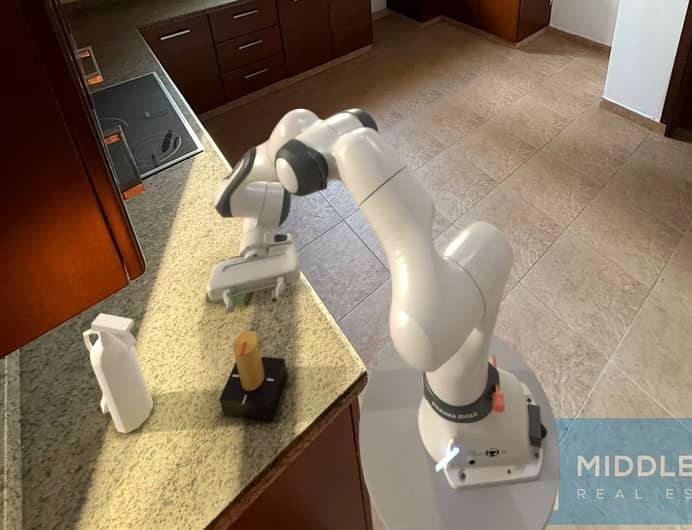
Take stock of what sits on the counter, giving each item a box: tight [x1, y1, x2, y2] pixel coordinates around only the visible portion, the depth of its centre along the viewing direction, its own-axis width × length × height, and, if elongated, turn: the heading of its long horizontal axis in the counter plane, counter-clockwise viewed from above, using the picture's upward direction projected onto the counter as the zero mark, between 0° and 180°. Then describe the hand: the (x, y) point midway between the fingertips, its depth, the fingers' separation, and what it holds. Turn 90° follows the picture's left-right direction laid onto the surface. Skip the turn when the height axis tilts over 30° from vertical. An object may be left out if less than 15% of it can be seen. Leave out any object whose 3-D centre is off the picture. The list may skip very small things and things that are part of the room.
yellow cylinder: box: [232, 330, 265, 391], centre depth 83 cm, size 4×4×10 cm
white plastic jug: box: [82, 312, 154, 434], centre depth 81 cm, size 7×12×25 cm, turn 80°
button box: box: [205, 291, 252, 307], centre depth 108 cm, size 10×7×4 cm
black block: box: [218, 353, 289, 423], centre depth 86 cm, size 10×9×5 cm
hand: (252, 305), depth 92 cm, fingers open, 8 cm apart
